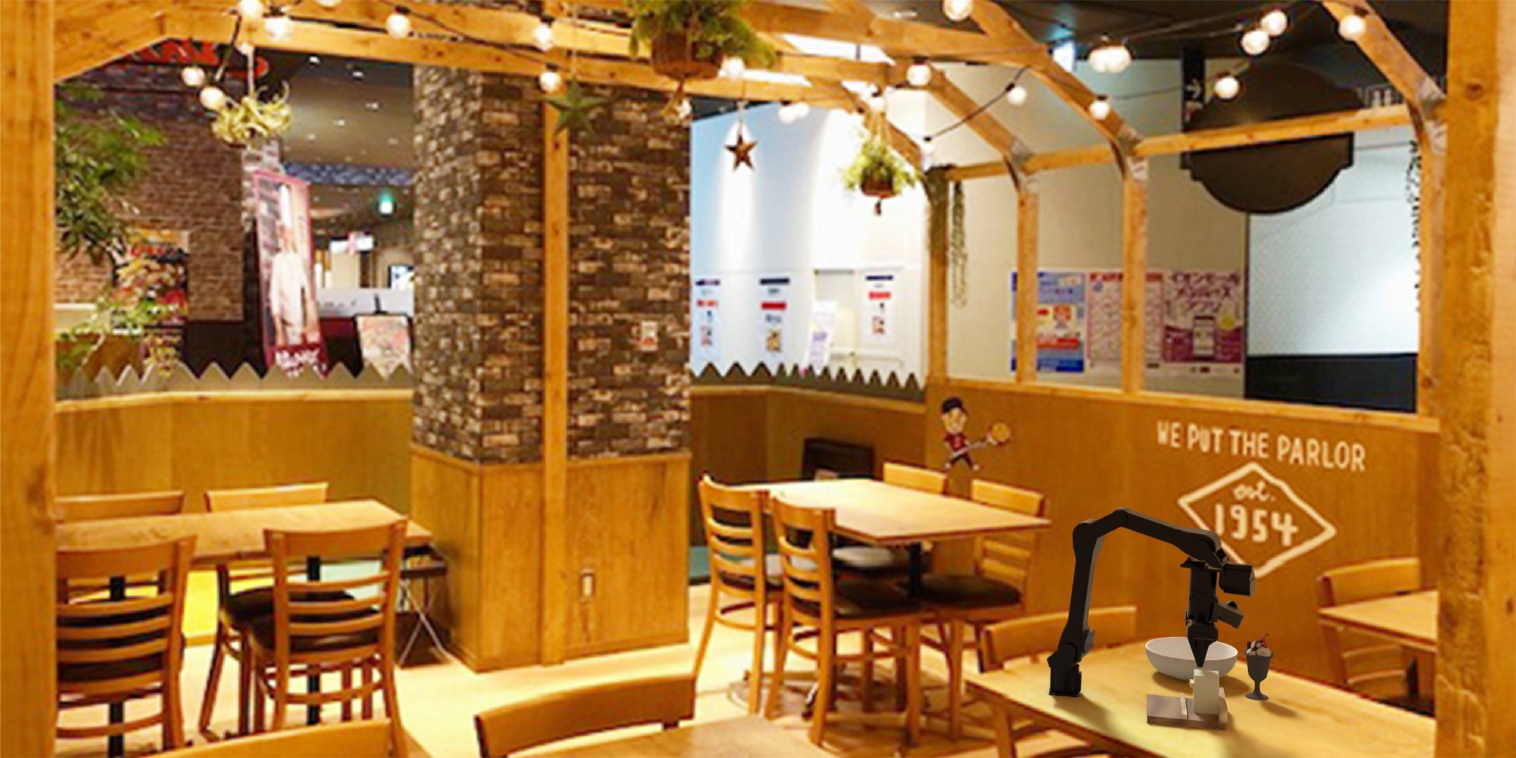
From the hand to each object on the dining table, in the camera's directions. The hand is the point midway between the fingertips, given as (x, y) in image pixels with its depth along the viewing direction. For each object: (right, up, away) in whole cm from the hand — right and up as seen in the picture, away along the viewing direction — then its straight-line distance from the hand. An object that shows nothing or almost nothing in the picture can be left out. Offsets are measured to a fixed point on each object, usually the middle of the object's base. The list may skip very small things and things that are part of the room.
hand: (1199, 661), depth 294 cm
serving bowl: (+8, -10, +31) cm, 33 cm away
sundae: (+18, -11, +14) cm, 25 cm away
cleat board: (-3, -12, 0) cm, 12 cm away
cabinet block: (+1, -10, -1) cm, 10 cm away
